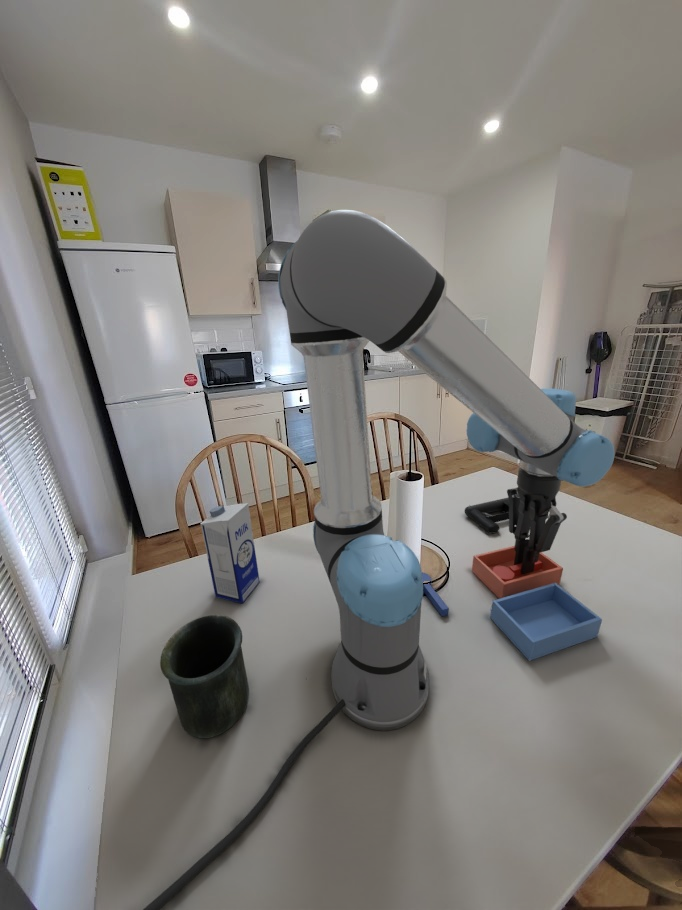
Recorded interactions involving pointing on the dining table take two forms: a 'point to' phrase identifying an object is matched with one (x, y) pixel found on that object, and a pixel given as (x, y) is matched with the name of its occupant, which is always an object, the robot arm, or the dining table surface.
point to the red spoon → (512, 571)
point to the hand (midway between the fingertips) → (523, 568)
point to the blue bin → (544, 620)
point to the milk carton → (231, 551)
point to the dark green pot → (207, 674)
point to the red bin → (521, 582)
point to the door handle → (480, 514)
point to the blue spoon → (434, 596)
